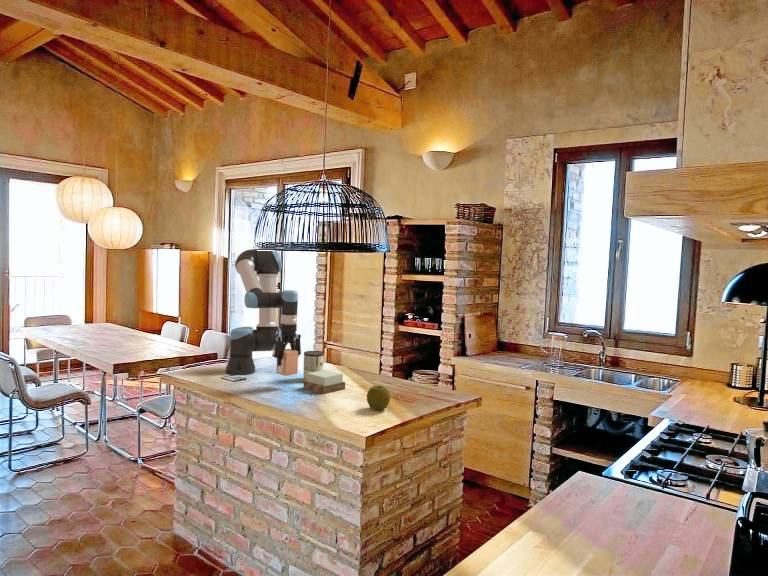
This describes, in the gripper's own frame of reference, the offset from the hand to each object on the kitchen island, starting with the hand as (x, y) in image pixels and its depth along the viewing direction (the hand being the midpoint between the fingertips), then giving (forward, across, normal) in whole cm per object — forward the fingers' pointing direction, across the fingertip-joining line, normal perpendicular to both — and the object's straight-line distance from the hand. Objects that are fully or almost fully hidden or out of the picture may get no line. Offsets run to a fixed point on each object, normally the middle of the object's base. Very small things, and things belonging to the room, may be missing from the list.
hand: (286, 371), depth 270 cm
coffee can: (+9, +21, +4) cm, 23 cm away
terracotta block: (+1, 0, 0) cm, 1 cm away
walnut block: (+9, +13, -13) cm, 20 cm away
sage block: (+5, +13, -13) cm, 19 cm away
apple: (+7, +7, -53) cm, 54 cm away
